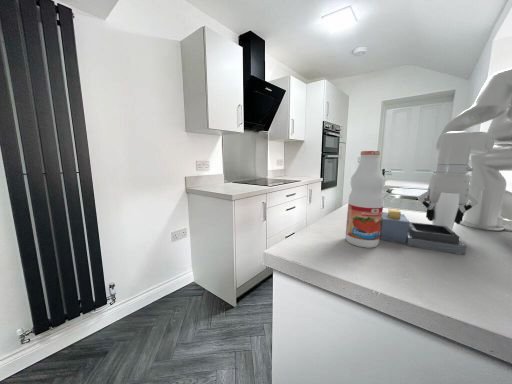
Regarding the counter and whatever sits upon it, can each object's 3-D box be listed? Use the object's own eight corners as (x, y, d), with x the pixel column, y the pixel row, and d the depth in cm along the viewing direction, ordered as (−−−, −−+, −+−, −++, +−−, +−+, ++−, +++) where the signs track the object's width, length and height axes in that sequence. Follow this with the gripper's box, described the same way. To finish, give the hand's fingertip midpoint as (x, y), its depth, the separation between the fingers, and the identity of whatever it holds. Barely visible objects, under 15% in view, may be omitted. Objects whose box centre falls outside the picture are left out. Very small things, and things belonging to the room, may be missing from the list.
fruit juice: (367, 236, 71) (376, 151, 67) (385, 248, 62) (397, 150, 57) (340, 236, 71) (347, 151, 66) (354, 248, 61) (363, 150, 57)
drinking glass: (429, 229, 79) (435, 189, 77) (454, 234, 74) (461, 192, 72) (427, 233, 74) (433, 191, 72) (453, 239, 70) (461, 194, 67)
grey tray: (447, 239, 70) (452, 212, 68) (464, 254, 58) (470, 223, 57) (372, 228, 79) (374, 205, 78) (373, 240, 68) (376, 213, 66)
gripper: (480, 170, 70) (471, 222, 73) (416, 168, 78) (410, 215, 81) (493, 171, 64) (482, 228, 66) (421, 169, 71) (414, 220, 74)
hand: (442, 221), depth 74 cm, fingers open, 6 cm apart
